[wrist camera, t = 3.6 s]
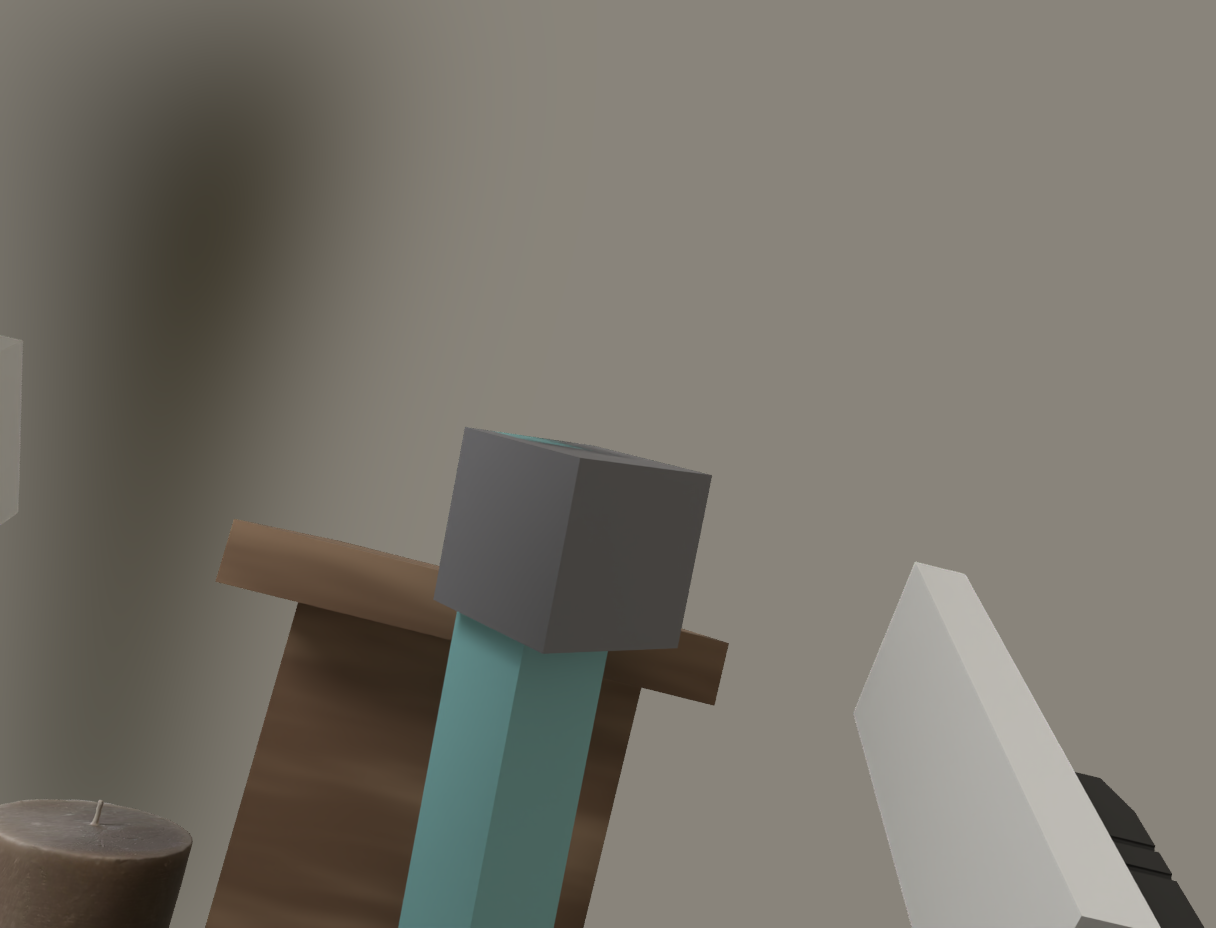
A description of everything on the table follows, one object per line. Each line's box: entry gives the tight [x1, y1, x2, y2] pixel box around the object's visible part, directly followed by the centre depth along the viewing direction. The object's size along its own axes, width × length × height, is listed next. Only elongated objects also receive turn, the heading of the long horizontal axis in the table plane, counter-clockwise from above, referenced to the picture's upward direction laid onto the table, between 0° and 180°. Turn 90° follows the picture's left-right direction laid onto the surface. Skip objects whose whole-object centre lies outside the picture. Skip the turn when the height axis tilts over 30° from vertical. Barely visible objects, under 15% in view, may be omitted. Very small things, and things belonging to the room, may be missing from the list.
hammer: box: [398, 427, 712, 928], centre depth 30 cm, size 23×5×5 cm
